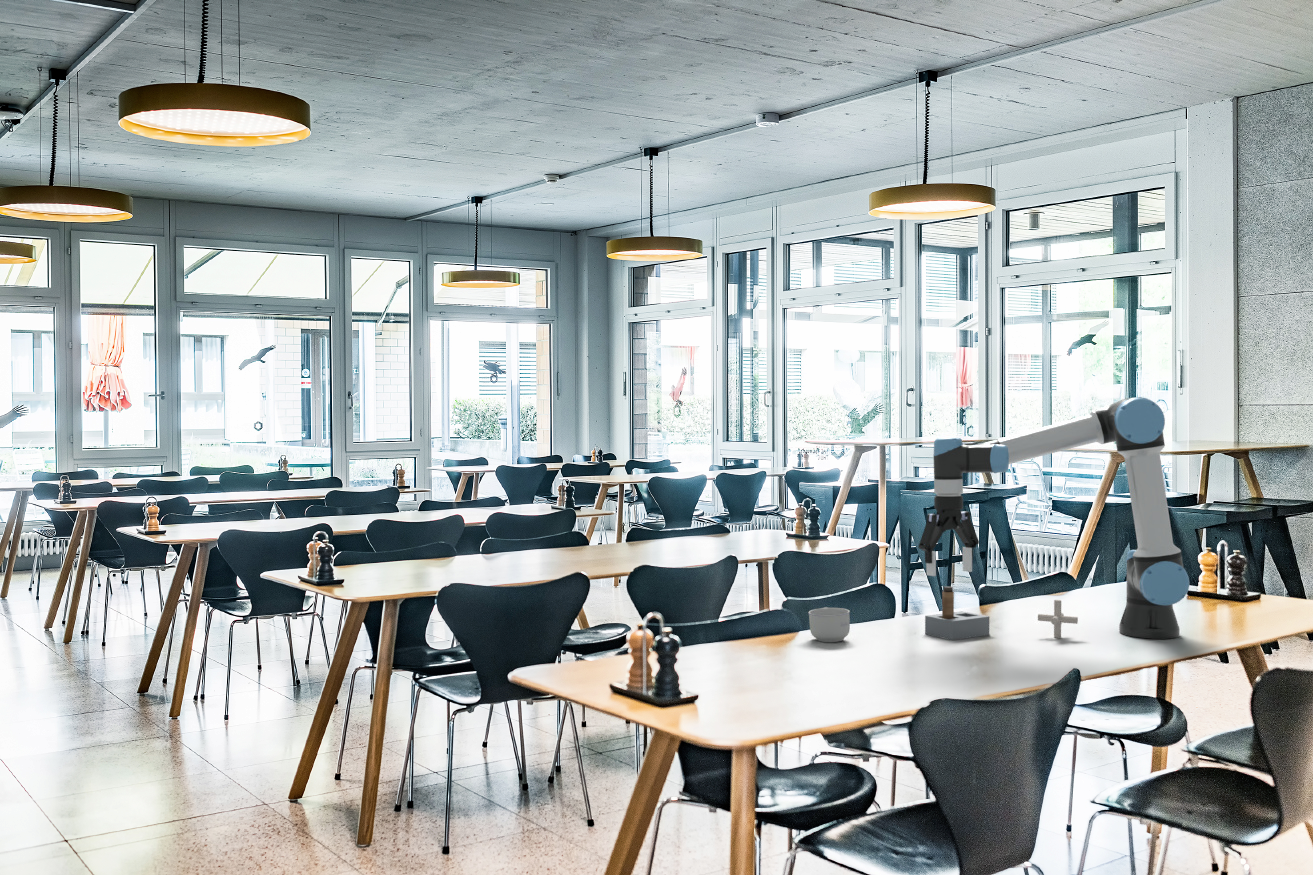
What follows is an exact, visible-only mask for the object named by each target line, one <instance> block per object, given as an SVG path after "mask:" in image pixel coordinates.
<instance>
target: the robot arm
mask: <svg viewBox="0 0 1313 875" xmlns="http://www.w3.org/2000/svg"><path fill="white" fill-rule="evenodd" d="M1164 414H1165V413H1164V411H1163V410H1162V408H1161V407H1160V406H1159V405H1158V404H1157V403H1156V402H1155V401H1153V400H1151V399H1148V398H1146V397H1143V396H1138V397H1137V396H1136V397H1129V398H1122V399H1120V400H1117V401H1116V402H1113V403H1111V404H1109V405H1108V404H1107V405H1106V406H1104V407H1100V408H1098V409H1097V408H1096V409H1092V410H1091V411H1090V413H1089V414H1088V415H1084V416H1081V417H1077V418H1072V419H1070V420H1066V421H1062V422H1057V423H1053V424H1051V425H1047V426H1042V427H1038V428H1034V429H1031V430H1027V431H1024V432H1019V433H1017V434H1016V433H1015V434H1013V435H1008V436H1005V437H1004V436H1003V437H1001V438H998V439H994V440H989V441H986V442H979V443H976V444H964V443H963V439H961V437H938V438H936V439H935V440H934V442H933V484H934V485H933V486H934V487H933V491H934V492H933V493H934V494H936V495H934V497H933V504H934V505H933V506H934V510H936V514H935V513H928V514H927V515H926V523H925V526H924V529H923V532H922V534H921V537H920V540H919V543H918V550H919V549H920V550H921V551H923V552H924V562H925V564H926V568H925V570H926V576H929V577H930V576H931V577H936V576H937V568H936V567H937V565H936V564H937V562H936V559H937V557H936V551H934V550H935V548H936V546H937V544H938V542H939V540H940V539H941V537H942V535H943V534H944V533H945V532H946V531H950V530H954V531H955V533H956V534H957V536H958V537H959V539H960V540H961V542H962V543H963V545H964V546H962V571H963V572H967V573H971V572H973V559H974V549H975V548H977V545H979V544H980V541H979V537H978V536H977V533H976V530H975V527H974V526H973V525H974V524H973V522H972V520H971V513H970V511H963V509H964V496H962V494H963V493H964V487H963V486H964V483H963V482H964V480H963V477H964V476H963V473H964V474H965V473H967V474H969V473H970V474H971V473H973V474H974V473H977V474H978V473H981V474H982V473H983V474H984V473H985V474H987V473H988V474H989V473H994V474H998V473H1006V472H1008V470H1009V465H1011V464H1015V463H1019V462H1022V461H1027V460H1031V459H1033V458H1034V459H1035V458H1038V457H1042V456H1046V455H1050V454H1054V453H1058V452H1063V451H1066V450H1070V449H1075V448H1078V447H1081V446H1085V445H1090V444H1094V443H1098V444H1100V445H1105V444H1109V443H1115V445H1116V446H1115V447H1116V452H1117V453H1118V454H1119V455H1120V456H1122V457H1123V459H1124V462H1125V463H1124V464H1125V469H1126V477H1127V483H1128V489H1129V490H1128V491H1129V497H1130V502H1131V504H1130V505H1131V509H1132V510H1131V511H1132V516H1133V523H1134V529H1135V535H1136V537H1135V538H1136V541H1137V547H1136V549H1130V550H1128V552H1127V553H1126V560H1125V563H1126V605H1125V608H1124V610H1123V613H1122V616H1121V619H1120V623H1119V628H1118V629H1119V631H1118V632H1119V633H1120V634H1122V635H1124V636H1127V637H1128V636H1129V637H1134V638H1139V639H1141V638H1142V639H1153V640H1155V639H1157V640H1158V639H1159V640H1162V639H1163V640H1165V639H1166V640H1167V639H1175V638H1176V639H1177V638H1179V637H1180V626H1179V623H1178V619H1177V616H1176V613H1175V610H1174V607H1173V605H1175V604H1177V603H1179V602H1181V601H1182V600H1183V599H1184V598H1185V597H1186V596H1187V594H1188V592H1189V589H1190V578H1189V575H1188V572H1187V571H1186V569H1185V567H1184V563H1183V556H1182V550H1181V548H1179V547H1177V546H1176V545H1175V544H1174V540H1173V533H1172V527H1171V519H1170V514H1169V506H1168V501H1167V500H1168V499H1167V493H1166V486H1165V481H1164V479H1165V478H1164V474H1163V468H1162V461H1161V452H1162V450H1164V448H1165V446H1166V445H1165V438H1164V429H1165V421H1166V419H1165V418H1166V417H1165V415H1164Z"/></svg>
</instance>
